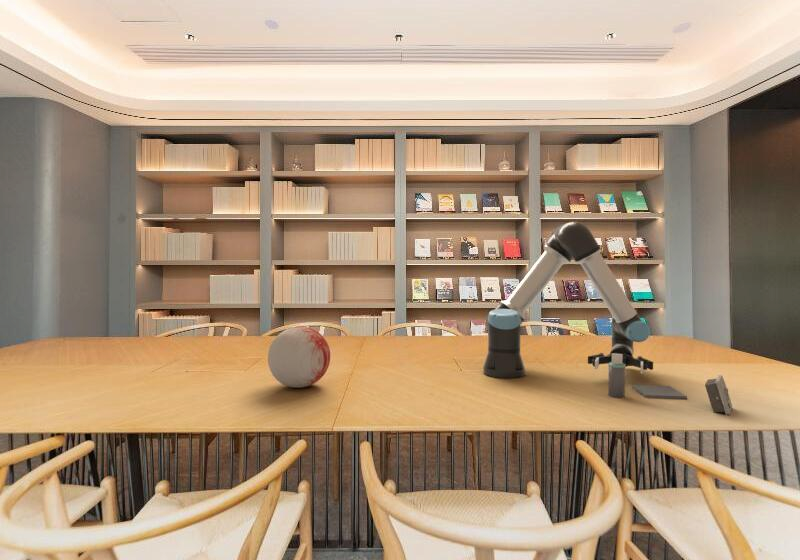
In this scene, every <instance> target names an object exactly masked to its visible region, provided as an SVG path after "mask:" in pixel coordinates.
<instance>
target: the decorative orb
mask: <svg viewBox="0 0 800 560" xmlns="http://www.w3.org/2000/svg"><path fill="white" fill-rule="evenodd" d="M330 363H331V350H330V346H329V344H328V341H327V340H326V339H325V337H324V336H323V335H322V334H321V333H320V332H319V331H317V330H316V329H314V328H311V327H309V326H292V327H290V328H288V329H285V330H283V331H282V332H280V333H278V335H277V336H275V338H274V339H273V340H272V341H271V344H270V345H269V348H268V352H267V364H268V367H269V370H270V372H271V374H272V376H273V378H274V379H275V380H276V381H277V382H279V383H280V384H281V385H284V386H286V387H290V388H294V389H296V388H297V389H301V388H307V387H309V386H312V385H314V384H316V383H317V382H319V381H320V380H321V379H322V378H323V377H324V375H325V374H326V372H327V370H328V369H329V367H330Z"/></svg>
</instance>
